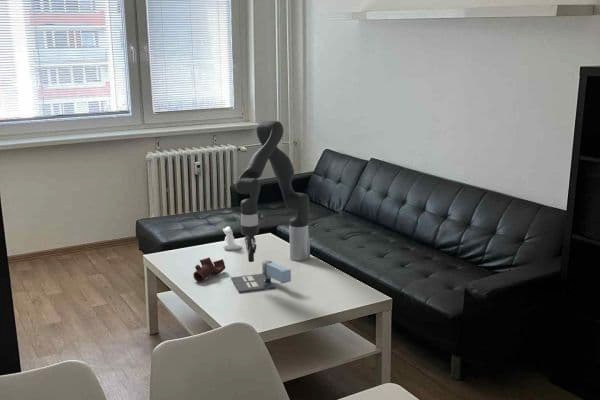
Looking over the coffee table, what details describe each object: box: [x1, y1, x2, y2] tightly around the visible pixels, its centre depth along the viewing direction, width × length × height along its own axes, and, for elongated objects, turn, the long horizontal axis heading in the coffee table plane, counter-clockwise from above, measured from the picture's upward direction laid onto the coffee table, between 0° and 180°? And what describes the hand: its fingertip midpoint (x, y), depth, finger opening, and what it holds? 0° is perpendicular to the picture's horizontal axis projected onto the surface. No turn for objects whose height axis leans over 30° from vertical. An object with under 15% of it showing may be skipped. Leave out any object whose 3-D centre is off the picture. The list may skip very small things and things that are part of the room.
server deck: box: [230, 273, 276, 294], centre depth 309 cm, size 16×18×4 cm
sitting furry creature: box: [222, 226, 243, 251], centre depth 360 cm, size 10×9×12 cm
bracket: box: [192, 256, 226, 283], centre depth 319 cm, size 6×17×10 cm, turn 150°
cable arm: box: [261, 259, 292, 285], centre depth 305 cm, size 17×5×6 cm, turn 36°
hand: (251, 261), depth 303 cm, fingers closed
